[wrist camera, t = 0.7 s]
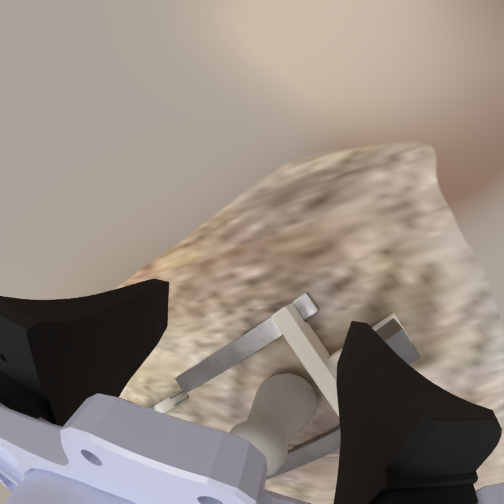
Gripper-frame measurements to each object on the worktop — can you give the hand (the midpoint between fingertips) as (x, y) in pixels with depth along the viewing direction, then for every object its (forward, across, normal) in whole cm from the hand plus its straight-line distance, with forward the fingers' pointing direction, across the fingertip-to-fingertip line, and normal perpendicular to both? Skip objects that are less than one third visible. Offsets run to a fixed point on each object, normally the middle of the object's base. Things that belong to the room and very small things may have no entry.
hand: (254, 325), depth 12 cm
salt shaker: (+14, -4, +16) cm, 21 cm away
